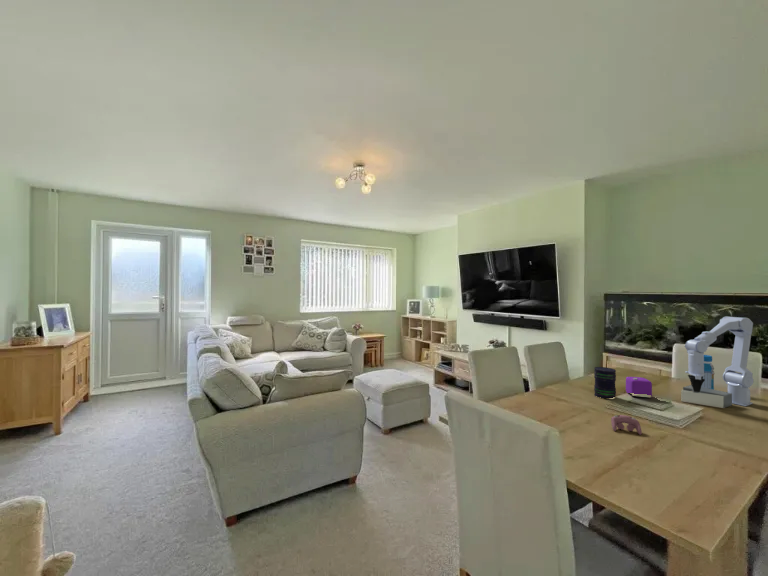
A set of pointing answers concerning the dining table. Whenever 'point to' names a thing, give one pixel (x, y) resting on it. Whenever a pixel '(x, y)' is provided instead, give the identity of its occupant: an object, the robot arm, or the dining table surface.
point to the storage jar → (604, 382)
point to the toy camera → (638, 385)
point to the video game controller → (620, 419)
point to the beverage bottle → (708, 373)
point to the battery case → (715, 392)
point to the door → (702, 398)
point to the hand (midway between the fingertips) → (696, 390)
